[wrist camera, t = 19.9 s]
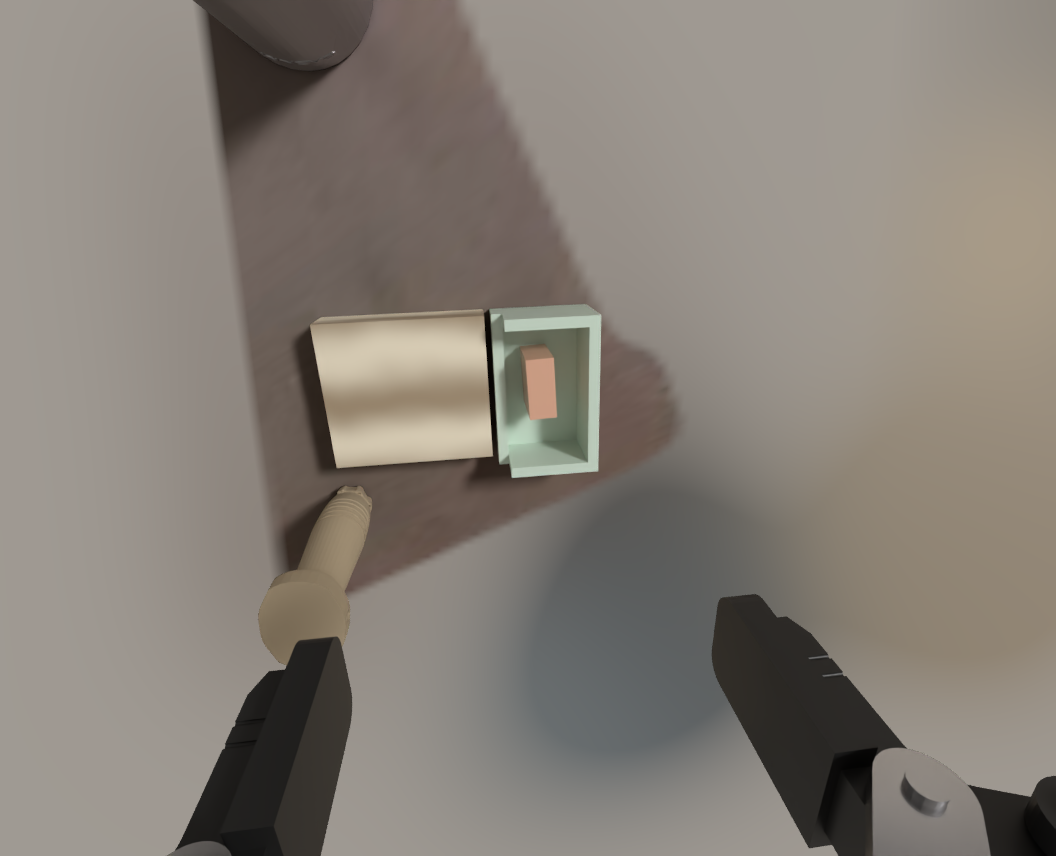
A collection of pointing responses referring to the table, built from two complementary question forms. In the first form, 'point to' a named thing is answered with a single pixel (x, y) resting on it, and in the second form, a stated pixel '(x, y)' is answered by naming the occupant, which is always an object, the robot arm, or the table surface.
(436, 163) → the table surface
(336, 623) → the handle
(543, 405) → the tile
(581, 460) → the box
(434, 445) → the cream flat slab
